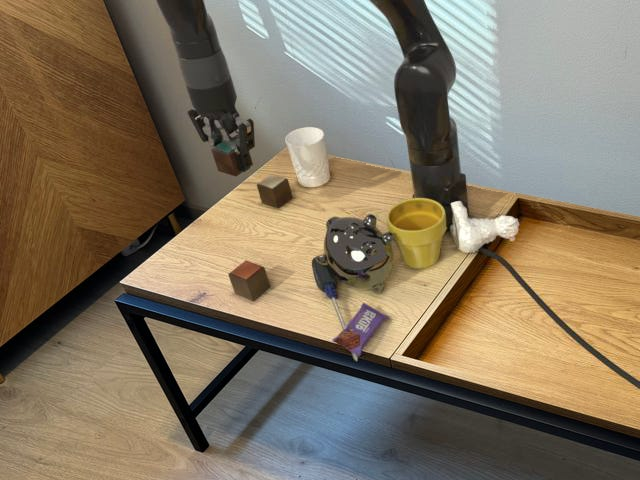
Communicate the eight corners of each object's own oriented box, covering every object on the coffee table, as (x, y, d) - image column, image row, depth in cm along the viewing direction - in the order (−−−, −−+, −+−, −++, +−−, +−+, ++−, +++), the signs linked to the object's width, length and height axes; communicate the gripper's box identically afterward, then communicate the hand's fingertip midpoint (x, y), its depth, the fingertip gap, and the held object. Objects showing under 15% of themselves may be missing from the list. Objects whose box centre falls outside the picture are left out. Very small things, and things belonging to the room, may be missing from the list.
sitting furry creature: (449, 229, 152) (509, 218, 154) (459, 267, 149) (521, 255, 151) (450, 199, 144) (514, 188, 146) (461, 239, 140) (527, 227, 142)
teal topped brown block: (253, 164, 146) (246, 141, 143) (236, 176, 143) (228, 153, 140) (235, 159, 148) (228, 136, 144) (218, 171, 145) (210, 148, 142)
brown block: (293, 197, 165) (287, 178, 161) (278, 209, 162) (272, 189, 159) (276, 192, 166) (271, 172, 163) (261, 203, 164) (256, 183, 161)
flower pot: (420, 283, 142) (415, 238, 135) (381, 260, 147) (374, 216, 140) (460, 255, 147) (457, 210, 140) (421, 234, 152) (416, 190, 146)
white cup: (288, 184, 168) (277, 142, 161) (310, 166, 173) (300, 124, 166) (318, 192, 165) (308, 149, 158) (340, 173, 170) (331, 130, 163)
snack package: (365, 298, 135) (390, 313, 135) (361, 306, 136) (387, 321, 136) (333, 336, 126) (360, 352, 126) (330, 344, 127) (357, 360, 127)
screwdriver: (364, 365, 129) (378, 348, 128) (347, 358, 127) (361, 341, 126) (318, 273, 146) (330, 257, 145) (302, 265, 144) (315, 250, 143)
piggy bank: (320, 206, 132) (295, 253, 139) (383, 269, 130) (354, 313, 137) (361, 190, 140) (336, 235, 148) (421, 249, 139) (392, 291, 146)
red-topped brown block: (270, 287, 144) (264, 266, 140) (253, 301, 141) (246, 280, 138) (252, 279, 146) (245, 259, 142) (235, 293, 143) (227, 273, 140)
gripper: (254, 75, 133) (278, 165, 145) (193, 60, 139) (221, 148, 150) (222, 94, 128) (250, 186, 140) (160, 78, 134) (192, 167, 146)
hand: (235, 166), depth 145 cm, fingers closed on teal topped brown block, 4 cm apart
